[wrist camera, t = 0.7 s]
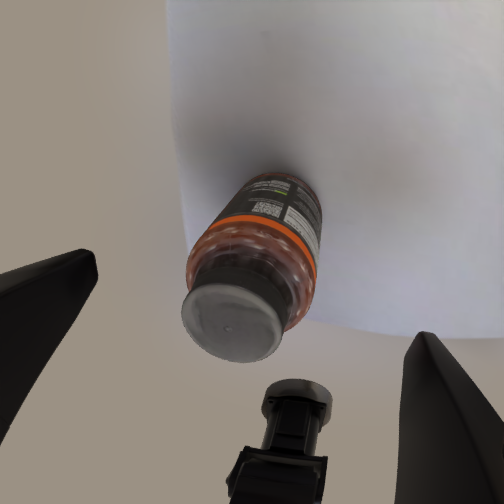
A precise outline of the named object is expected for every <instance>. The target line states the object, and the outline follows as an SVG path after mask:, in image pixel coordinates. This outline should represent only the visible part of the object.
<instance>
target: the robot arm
mask: <svg viewBox="0 0 504 504" xmlns="http://www.w3.org/2000/svg"><path fill="white" fill-rule="evenodd" d="M97 281H98V271H97V265H96V259H95V255H94V253H93V252H92V251H89V250H86V249H78V250H74V251H71V252H68V253H65V254H61V255H58V256H55V257H51V258H49V259H45V260H42V261H39V262H36V263H33V264H30V265H26V266H23V267H20V268H17V269H15V270H11V271H8V272H5V273H3V274H0V445H1V443H2V441H3V439H4V437H5V435H6V433H7V432H8V430H9V428H10V425H11V424H12V422H13V420H14V418H15V416H16V414H17V413H18V411H19V409H20V407H21V405H22V403H23V402H24V400H25V398H26V397H27V395H28V393H29V392H30V390H31V388H32V387H33V385H34V383H35V382H36V380H37V378H38V377H39V375H40V374H41V372H42V370H43V369H44V367H45V366H46V364H47V362H48V361H49V359H50V358H51V356H52V355H53V353H54V351H55V350H56V348H57V347H58V345H59V344H60V342H61V341H62V339H63V338H64V336H65V335H66V333H67V332H68V330H69V329H70V327H71V326H72V324H73V323H74V321H75V320H76V318H77V316H78V315H79V313H80V311H81V309H82V307H83V306H84V304H85V302H86V300H87V299H88V297H89V295H90V293H91V292H92V290H93V288H94V287H95V285H96V283H97ZM326 408H327V404H326V403H322V402H312V401H303V400H294V399H286V398H279V397H272V396H270V397H268V398H267V428H266V432H265V435H264V439H263V442H262V446H261V449H257V448H252V447H250V446H245V447H244V449H243V451H241V452H240V454H239V457H238V459H237V462H236V464H235V466H234V468H233V469H232V471H231V472H230V474H229V476H228V477H227V479H226V484H227V485H228V496H229V497H230V498H231V500H230V503H229V504H321V501H322V496H323V492H324V486H325V477H326V470H327V460H328V456H323V457H319V456H314V455H315V449H316V443H317V436H318V433H319V432H321V428H322V424H323V421H324V417H325V413H326ZM394 504H504V422H503V421H502V420H501V418H500V417H499V415H498V414H497V412H496V411H495V410H494V408H493V407H492V406H491V404H490V403H489V402H488V400H487V399H486V398H485V397H484V395H483V394H482V392H481V391H480V390H479V388H478V387H477V386H476V384H475V383H474V382H473V381H472V379H471V378H470V377H469V375H468V374H467V373H466V372H465V370H464V369H463V368H462V367H461V365H460V364H459V363H458V362H457V360H456V359H455V358H454V357H453V356H452V354H451V353H450V352H449V351H448V349H447V348H446V347H445V346H444V345H443V343H442V342H441V341H440V340H439V339H438V338H437V336H436V335H435V334H433V333H429V332H424V331H421V332H419V333H418V334H417V335H416V337H415V339H414V340H413V342H412V344H411V346H410V347H409V349H408V351H407V353H406V355H405V357H404V365H403V379H402V391H401V401H400V413H399V452H398V469H397V483H396V493H395V503H394Z"/></svg>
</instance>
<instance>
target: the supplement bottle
mask: <svg viewBox="0 0 504 504" xmlns="http://www.w3.org/2000/svg"><path fill="white" fill-rule="evenodd" d="M321 228H322V212H321V207H320V204H319V201H318V199H317V197H316V195H315V194H314V192H313V191H312V190H311V189H310V188H309V187H308V186H307V185H306V184H305V183H304V182H302V181H301V180H299V179H297V178H295V177H292V176H290V175H287V174H282V173H269V174H263V175H260V176H258V177H256V178H254V179H252V180H250V181H249V182H248V183H246V184H245V185H244V186H243V187H242V189H241V190H240V191H239V192H238V193H237V194H236V195H235V196H234V197H233V199H232V200H231V201H230V202H229V203H228V205H227V206H226V207H225V208H224V209H223V210H222V212H221V213H220V214H219V215H218V216H217V218H216V219H215V220H214V221H213V223H212V224H211V225H210V226H209V227H208V229H207V230H206V231H205V232H204V233H203V235H202V236H201V237H200V238H199V239H198V241H197V242H196V244H195V245H194V247H193V249H192V251H191V253H190V255H189V258H188V261H187V266H186V282H187V287H188V290H189V293H188V295H187V296H186V298H185V300H184V302H183V305H182V311H181V314H182V321H183V324H184V327H185V328H186V330H187V332H188V334H189V335H190V337H191V338H192V339H193V340H194V341H195V342H196V343H197V344H198V345H199V346H200V347H201V348H202V349H204V350H205V351H206V352H208V353H210V354H212V355H214V356H216V357H218V358H221V359H224V360H228V361H231V362H238V363H249V362H256V361H259V360H262V359H264V358H267V357H268V356H269V355H271V354H272V353H274V351H275V350H276V349H277V348H278V346H279V344H280V342H281V340H282V336H283V333H284V332H286V331H287V330H289V329H291V328H292V327H294V326H295V325H296V324H298V322H299V321H301V319H302V318H303V317H304V316H305V314H306V313H307V311H308V310H309V308H310V305H311V302H312V299H313V296H314V291H315V284H316V278H317V268H318V259H319V249H320V239H321Z"/></svg>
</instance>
